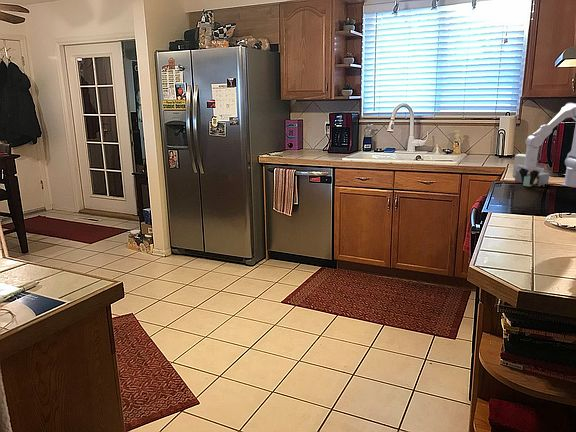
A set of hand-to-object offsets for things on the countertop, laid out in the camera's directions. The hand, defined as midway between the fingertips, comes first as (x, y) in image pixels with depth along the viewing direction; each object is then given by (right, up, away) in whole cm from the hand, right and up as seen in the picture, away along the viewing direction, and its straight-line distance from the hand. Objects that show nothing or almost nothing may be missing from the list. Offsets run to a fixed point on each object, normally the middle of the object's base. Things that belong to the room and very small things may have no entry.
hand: (527, 183), depth 256 cm
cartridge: (+4, 0, +3) cm, 5 cm away
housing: (+6, +1, +9) cm, 11 cm away
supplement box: (+8, +6, +25) cm, 27 cm away
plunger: (+5, +4, +11) cm, 12 cm away
